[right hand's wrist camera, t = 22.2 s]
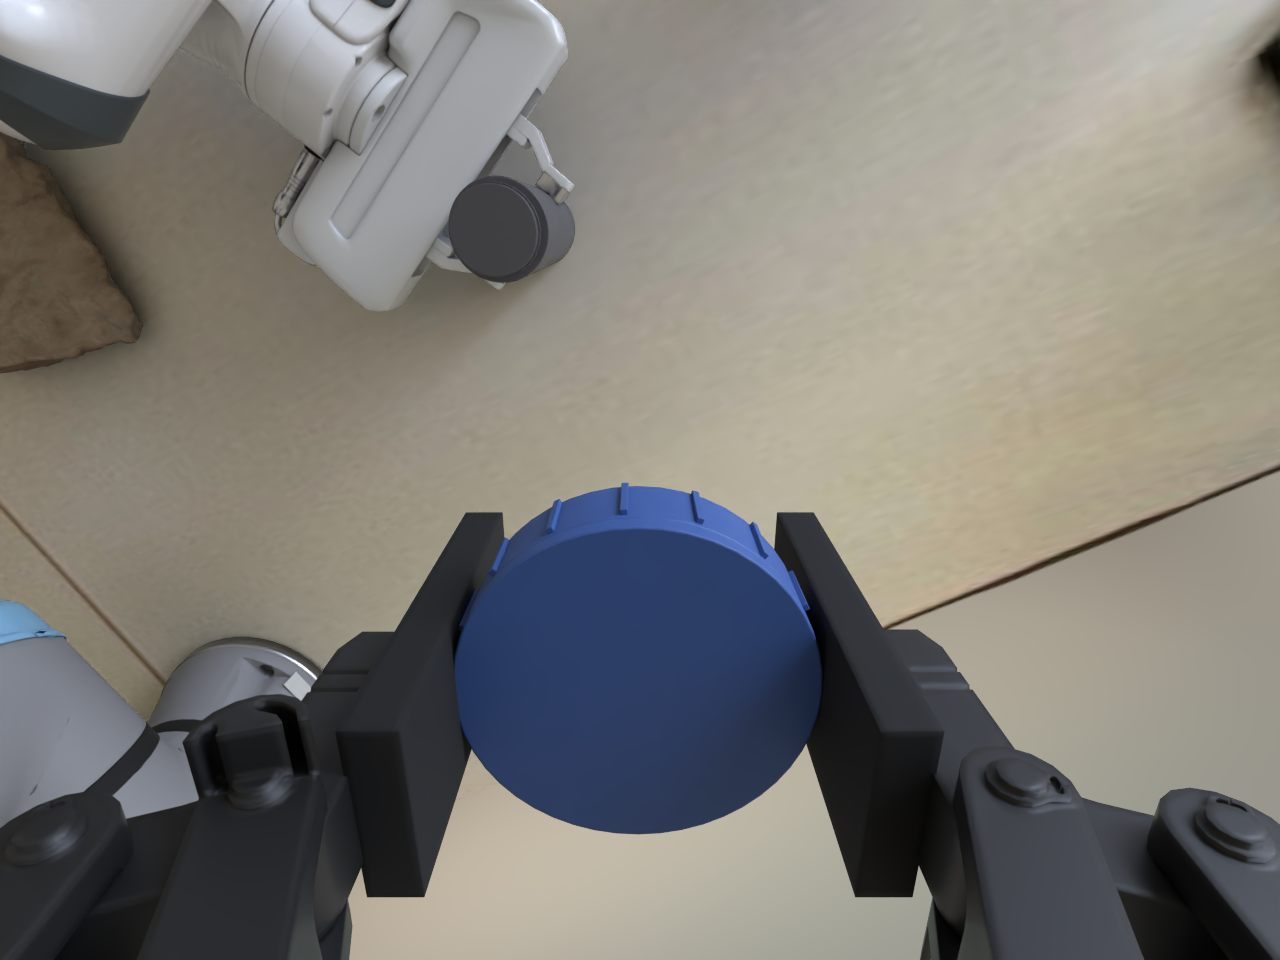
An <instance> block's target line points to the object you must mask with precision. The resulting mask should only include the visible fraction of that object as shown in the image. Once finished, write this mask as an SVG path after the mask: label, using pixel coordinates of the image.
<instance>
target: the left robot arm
mask: <svg viewBox="0 0 1280 960" xmlns="http://www.w3.org/2000/svg"><path fill="white" fill-rule="evenodd" d="M179 46H180V47H181V48H182V49H183V50H185V51H186V52H188V53H189V54H191V55H193V56H194V57H196V58H198V59H200V60H203V61H205V62H207V63H210V64H212V65H214V66H215V67H217V68H218V69H220V70H221V71H223V72H224V73H225V74H226V75H227V76H228V77H229V78H230V79H231V80H232V81H233V82H234V83H235V85H236V86H237V87H238V89H239V90H240V91H241V93H242V94H243V95H244V96H245V97H246V98H247V99H248V100H249V101H250V102H251V103H252V104H253V105H255V106H256V107H257V108H258V109H260V110H261V111H262V112H264V113H265V114H266V115H267V116H269V117H270V118H271V119H273V120H274V121H275V122H276V123H278V124H279V125H280V126H281V127H283V128H284V129H285V130H287V131H288V132H289V133H290V134H291V135H293V136H294V137H295V138H296V139H298V140H299V141H301V142H302V143H303V144H304V146H305V147H304V149H303V151H302V152H301V154H300V156H299V158H298V160H297V162H296V163H295V165H294V167H293V169H292V171H291V174H290V177H289V179H288V181H287V183H286V185H285V186H284V188H283V190H281V191H280V192H279V193H278V195H277V196H276V198H275V200H274V203H273V207H272V210H273V211H274V212H275V213H276V214H275V219H274V226H275V231H276V234H277V237H278V239H279V241H280V242H281V243H282V245H283V246H285V247H286V248H287V249H288V250H290V251H291V252H292V253H294V254H295V255H296V256H298V257H299V258H300V259H302V260H303V261H304V262H306V263H308V264H310V265H313V266H318V267H319V268H320V269H321V270H322V271H323V272H324V273H325V274H326V275H327V276H328V277H329V278H330V279H331V280H332V281H333V282H334V283H335V284H336V285H337V286H339V287H340V288H341V289H342V290H343V291H344V292H345V293H347V294H348V295H349V296H350V297H351V298H352V299H354V300H355V301H356V302H357V303H359V304H360V305H361V306H363V307H364V308H366V309H367V310H370V311H389V310H392V309H395V308H397V307H399V306H401V305H402V304H403V303H404V302H405V300H406V299H407V297H408V296H409V294H410V293H411V291H412V290H413V288H414V287H415V285H416V284H417V282H418V281H419V279H420V278H421V276H422V275H423V273H424V272H425V270H426V269H427V267H428V266H429V264H430V263H431V261H432V262H433V263H435V264H436V265H437V266H439V267H440V268H441V269H448V270H454V271H460V272H466V273H472V272H471V271H469V270H468V269H467V268H466V267H465V266H464V265H463V264H462V262H461V261H460V260H459V258H458V257H456V256H455V255H456V253H455V252H454V249H453V247H452V244H451V241H450V240H449V239H448V238H447V237H448V236H449V230H448V222H449V214H450V210H451V207H452V204H453V202H454V200H455V198H456V197H457V196H458V194H459V193H460V192H461V191H462V190H463V188H465V187H466V186H467V185H468V184H470V183H471V182H473V181H475V180H477V179H480V178H483V177H487V176H489V175H490V173H491V172H492V170H493V169H494V167H495V166H496V164H497V163H498V161H499V160H500V158H501V157H502V155H503V154H504V152H505V151H506V149H507V148H508V146H509V145H510V143H511V142H512V140H514V141H515V142H516V143H517V144H519V145H520V146H521V147H523V148H524V149H526V150H529V149H530V147H531V146H532V149H533V151H534V153H535V156H536V158H537V161H538V163H539V166H540V168H541V170H542V173H543V174H542V175H541V177H540V178H539V180H538V181H537V183H536V184H535V185H536V186H537V187H539V188H540V189H541V190H542V191H544V192H546V193H549V195H550V197H551V198H552V199H553V200H554V201H555V202H556V203H558V204H559V205H562V203H563V202H564V200H565V199H566V198H567V196H568V195H569V194H570V192H571V191H572V190H573V188H574V187H575V185H574V184H573V183H572V182H571V181H569V180H568V179H567V178H566V177H565V176H564V175H562V174H561V173H560V172H559V171H558V170H557V169H555V168H554V167H553V165H554V164H553V161H552V158H551V156H550V153H549V151H548V148H547V146H546V143H545V141H544V138H543V135H542V133H541V131H539V130H538V129H537V128H536V127H535V126H534V125H533V124H532V123H530V122H529V121H528V120H527V118H528V116H529V115H530V113H531V112H532V110H533V109H534V107H535V106H536V104H537V103H538V101H539V100H540V98H541V97H542V95H543V94H544V92H545V91H546V89H547V88H548V86H549V85H550V83H551V82H552V80H553V79H554V77H555V76H556V74H557V73H558V72H559V70H560V69H561V67H562V66H563V64H564V63H565V61H566V59H567V57H568V47H567V40H566V36H565V32H564V29H563V27H562V26H561V24H560V23H559V21H558V20H557V19H556V18H555V17H554V16H553V15H552V14H551V13H550V12H549V11H548V10H547V9H545V8H544V7H543V6H542V5H541V4H539V3H538V2H537V1H536V0H0V132H1V133H4V134H6V135H9V136H11V137H13V138H16V139H19V140H22V141H25V142H28V143H32V144H36V145H38V146H40V147H42V148H43V149H47V150H68V149H84V148H92V147H100V146H106V145H111V144H116V143H120V142H122V140H123V138H124V136H125V135H126V133H127V131H128V130H129V128H130V126H131V124H132V123H133V121H134V119H135V117H136V116H137V114H138V112H139V110H140V109H141V107H142V105H143V104H144V102H145V100H146V99H147V97H148V95H149V92H150V89H149V87H150V86H151V85H152V83H153V82H154V81H155V79H156V78H157V76H158V75H159V74H160V72H161V71H162V70H163V68H164V67H165V65H166V64H167V63H168V61H169V60H170V59H171V57H172V56H173V54H174V53H175V52H176V50H177V49H178V48H179ZM282 217H283V218H286V219H285V221H284V223H283V224H281V223H282ZM472 274H473V273H472ZM484 280H485V279H484ZM485 281H486V282H488V283H489V284H490V285H491V286H493V287H494V288H496V289H498V290H500V289H502V288H503V286H504V285H505V283H497V282H491V281H488V280H485Z"/></svg>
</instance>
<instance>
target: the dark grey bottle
mask: <svg viewBox="0 0 1280 960" xmlns="http://www.w3.org/2000/svg"><path fill="white" fill-rule="evenodd" d="M448 230H449V237H450V241H451V244H452V247H453V249H454V252H455V253H456V255H457V257H458V258H459V260H460V261H461V262H462V264H463V265H464V266H465V267H466V268H467V269H468V270H469V271H471V272H472V273H473V274H475V275H477V276H478V277H480V278H482V279H485V280H488V281H491V282H497V283H507V282H513V281H517V280H519V279H522V278H524V277H526V276H528V275H530V274H532V273H535V272H537V271H539V270H541V269H543V268H545V267H547V266H549V265H551V264H554V263H556V262H557V261H559V260H560V259H562V258H563V257H564V256H565V255H566V254H567V252H568V251H569V249H570V248H571V246H572V243H573V240H574V235H575V225H574V219H573V216H572V213H571V211H570V209H569V208H568V206H567V205H566V204H565V202H563V203H562V205H559V204H558V203H556V202H555V201H554V200H553V199H552V198H551V197H550V195H549V193H546V192H544V191H542V190H541V189H540V188H537V187H534V186H531V185H528V184H525V183H522V182H519V181H516V180H513V179H510V178H508V177H502V176H487V177H483V178H480V179H477V180H475V181H473V182H471V183H470V184H468V185H467V186H466V187H465V188H463V190H462V191H461V192H460V193H459V194H458V196H457V197H456V198H455V200H454V202H453V204H452V207H451V210H450V214H449V222H448Z"/></svg>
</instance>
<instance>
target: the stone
mask: <svg viewBox="0 0 1280 960" xmlns="http://www.w3.org/2000/svg"><path fill="white" fill-rule="evenodd" d="M142 326H143V325H142V323H141V321H140V320H139V319H138V317H137V316H136V314H135V312H134V309H133V307H132V305H131V304H130V302H129V301H128V299H127V298H126V297H125V295H124V294H123V293H122V291H121V290H120V289H119V287H118V286H117V285H116V284H115V283H114V282H113V281H112V279H111V277H110V272H109V270H108V268H107V267H106V265H105V255H104V254H103V253H102V251H101V250H100V249H99V248H98V247H97V246H96V245H95V244H94V243H93V242H92V240H91V237H90V236H89V235H88V234H86V233H85V232H84V231H83V230H82V229H81V227H80V226H79V224H78V223H77V221H76V220H75V217H74V215H73V213H72V207H71V205H70V204H69V203H68V202H67V200H66V199H65V198H64V196H63V195H62V193H61V191H60V189H59V188H58V186H57V182H56V179H55V177H54V176H53V174H52V172H51V171H50V169H49V168H48V167H47V166H46V165H45V164H42V163H38V162H34V161H31V160H30V159H28V158H27V156H26V153H25V150H24V147H23V146H22V145H21V144H20V142H19V141H18V140H17V139H16V138H13V137H11V136H9V135H6V134H4V133H1V132H0V373H7V372H14V371H19V370H29V369H33V368H37V367H41V366H49V365H52V364H55V363H58V362H61V361H62V360H63V359H68V358H77V357H79V356H82V355H83V354H85V353H86V352H89V351H94V350H98V349H101V348H103V347H104V346H107V345H111V344H114V343H116V342H119V341H121V342H124V343H134V342H136V341H137V340H138V338H139V336H140V332H141V329H142Z"/></svg>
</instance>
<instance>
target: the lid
mask: <svg viewBox="0 0 1280 960" xmlns="http://www.w3.org/2000/svg"><path fill="white" fill-rule="evenodd" d="M809 609H810V608H809V606H808V604H807V602H806V599H805V597H804V595H803V593H802V590H801V588H800V586H799V583H798V581H797V579H796V577H795V574H794V572H793V571H789V572H787V569H786V567H785V565H784V564H783V562H782V561H781V559H780V558H779V556H778V555H777V553H776V552H775V550H774V549H773V547H772V546H771V545H770V544H769V543H768V542H767V541H766V540H765V539H764V538H763V536H762V535H761V534H760V531H759V528H758V526H757V525H756V524H755V523H754V522H752V523H751V524H750V525H749V524H748V523H747V522H746V521H744V520H743V519H742V518H740V517H739V516H737V515H735V514H734V513H732V512H731V511H729V510H727V509H726V508H724V507H722V506H720V505H718V504H715V503H713V502H711V501H709V500H707V499H704V498H701V497H699V493H698V492H696V491H692V493H691V494H689V493H685V492H682V491H676V490H671V489H665V488H659V487H642V486H633V487H629V486H628V483H622V486H621V487H617V488H610V489H604V490H599V491H594V492H590V493H587V494H583V495H580V496H577V497H574V498H571V499H568V500H566V501H564V502H561V501H560V499H558V500H556V501H554V503H553V507H551V508H549V509H548V510H546V511H545V512H543V513H542V514H540V515H538V516H537V517H535V518H534V519H532V520H531V521H530V522H528V523H527V524H526V525H525V526H524V527H522V528H521V529H520V530H519V531H518V532H517V533H515V534H514V536H513V537H512V538H511V539H510V540H508V539H507V538H505V539H504V540H503V541H502V542H501V545H500V547H499V549H498V552H497V554H496V556H495V559H494V561H493V563H492V564H491V566H490V568H489V570H488V572H487V574H486V576H485V579H484V581H483V583H482V585H481V588H480V590H479V591H477V590H475V591H474V593H473V596H472V598H471V600H470V602H469V605H468V607H467V609H466V611H465V613H464V616H463V618H462V620H461V622H460V625H459V631H461V634H460V637H459V640H458V644H457V647H456V651H455V655H454V674H455V683H456V691H457V700H458V709H459V718H460V724H461V727H462V730H463V733H464V735H465V737H466V739H467V741H468V743H469V744H470V746H471V748H472V750H473V752H474V753H475V755H476V756H477V757H478V759H479V760H480V761H481V763H482V764H483V766H484V767H485V768H486V769H487V770H488V771H489V773H490V774H491V775H492V776H493V777H494V778H495V779H496V780H497V781H498V782H499V783H500V784H501V785H502V786H504V787H505V788H506V789H507V790H509V791H510V792H511V793H512V794H513V795H515V796H516V797H518V798H519V799H521V800H522V801H524V802H525V803H527V804H528V805H530V806H532V807H533V808H535V809H537V810H539V811H541V812H543V813H545V814H547V815H549V816H551V817H554V818H556V819H559V820H562V821H564V822H567V823H570V824H573V825H576V826H580V827H584V828H588V829H592V830H598V831H604V832H611V833H622V834H652V833H664V832H671V831H677V830H683V829H687V828H691V827H695V826H698V825H702V824H705V823H708V822H711V821H713V820H716V819H719V818H721V817H724V816H726V815H728V814H730V813H732V812H734V811H736V810H738V809H740V808H742V807H743V806H745V805H747V804H748V803H750V802H751V801H753V800H754V799H756V798H757V797H759V796H760V795H762V794H763V793H764V792H765V791H766V790H768V789H769V788H770V787H771V786H772V785H774V784H775V783H776V782H777V781H778V780H779V779H780V778H781V777H782V776H783V775H784V773H785V772H786V771H787V770H788V769H789V768H790V767H791V766H792V764H793V763H794V761H795V760H796V759H797V757H798V756H799V755H800V753H801V752H802V750H803V748H804V746H805V745H806V743H807V741H808V739H809V737H810V735H811V733H812V730H813V727H814V725H815V722H816V719H817V716H818V713H819V707H820V702H821V697H822V682H823V671H822V663H821V656H820V651H819V647H818V644H817V641H816V637H815V634H814V631H813V629H812V626H811V624H810V622H809V620H808V617H807V615H806V612H805V611H806V610H809Z"/></svg>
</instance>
